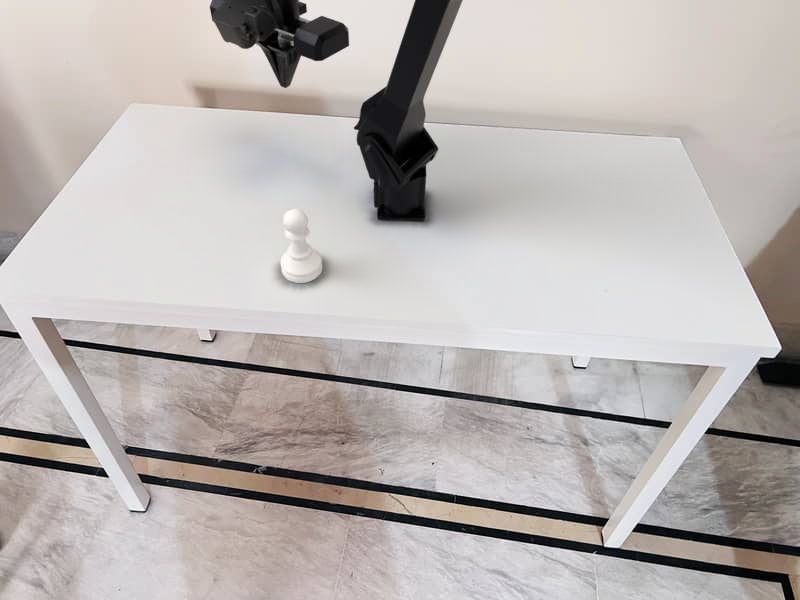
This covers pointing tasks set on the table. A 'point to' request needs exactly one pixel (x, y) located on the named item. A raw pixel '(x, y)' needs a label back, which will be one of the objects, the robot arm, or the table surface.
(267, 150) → the table surface
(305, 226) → the chess pawn
